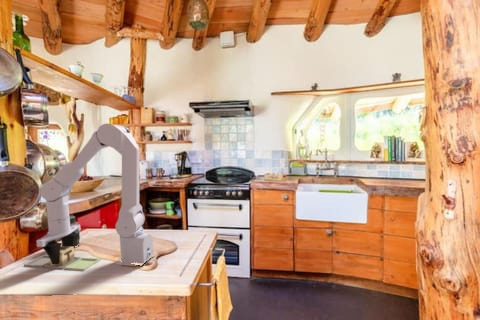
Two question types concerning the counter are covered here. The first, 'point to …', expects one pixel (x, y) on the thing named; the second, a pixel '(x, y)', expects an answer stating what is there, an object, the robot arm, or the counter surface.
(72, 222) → the supplement bottle
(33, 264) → the far dish
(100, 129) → the robot arm
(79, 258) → the middle dish
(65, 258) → the letter block
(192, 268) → the counter surface
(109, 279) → the counter surface
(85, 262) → the green dish
